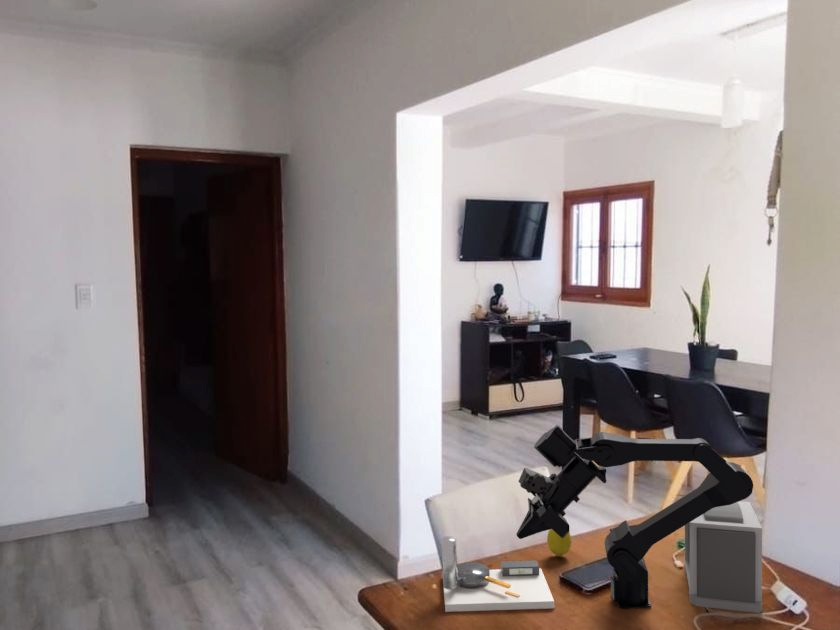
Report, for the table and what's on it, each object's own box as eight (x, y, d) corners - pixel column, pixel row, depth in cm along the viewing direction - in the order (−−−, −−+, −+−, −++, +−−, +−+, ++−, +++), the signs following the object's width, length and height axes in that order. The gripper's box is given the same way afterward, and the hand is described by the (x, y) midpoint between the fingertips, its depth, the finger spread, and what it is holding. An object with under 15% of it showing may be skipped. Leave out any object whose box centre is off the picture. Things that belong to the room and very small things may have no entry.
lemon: (565, 563, 157) (564, 530, 156) (543, 558, 160) (542, 525, 159) (575, 555, 161) (574, 522, 161) (554, 549, 164) (553, 517, 164)
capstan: (520, 585, 143) (519, 534, 142) (485, 609, 134) (483, 554, 133) (467, 567, 152) (466, 519, 151) (431, 588, 143) (429, 536, 142)
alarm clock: (684, 566, 154) (684, 487, 152) (748, 572, 150) (748, 491, 148) (690, 605, 136) (690, 516, 135) (763, 613, 132) (763, 522, 131)
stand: (541, 574, 152) (540, 559, 151) (554, 608, 137) (554, 591, 136) (442, 577, 152) (442, 562, 151) (445, 611, 137) (444, 594, 136)
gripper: (533, 443, 147) (484, 495, 148) (551, 470, 129) (495, 528, 130) (570, 477, 148) (521, 529, 149) (593, 508, 130) (537, 567, 130)
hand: (518, 536), depth 139 cm, fingers closed
